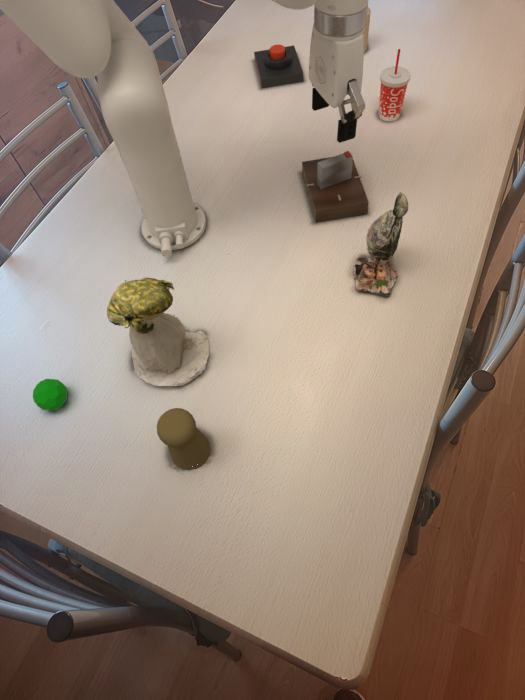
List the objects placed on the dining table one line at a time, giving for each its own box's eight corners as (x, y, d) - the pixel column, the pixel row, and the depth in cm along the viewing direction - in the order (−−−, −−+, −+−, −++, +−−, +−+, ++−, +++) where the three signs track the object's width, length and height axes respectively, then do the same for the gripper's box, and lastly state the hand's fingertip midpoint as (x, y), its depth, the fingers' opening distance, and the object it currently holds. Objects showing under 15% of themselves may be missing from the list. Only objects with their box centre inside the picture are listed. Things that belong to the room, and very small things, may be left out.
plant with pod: (408, 256, 89) (431, 164, 72) (387, 304, 84) (407, 217, 67) (364, 243, 92) (377, 151, 74) (342, 289, 87) (350, 202, 70)
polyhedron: (36, 401, 81) (21, 388, 76) (61, 381, 82) (48, 367, 78) (52, 421, 78) (38, 409, 74) (78, 400, 80) (65, 387, 76)
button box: (303, 82, 118) (303, 65, 115) (261, 88, 118) (260, 72, 114) (294, 54, 124) (294, 37, 121) (254, 60, 124) (253, 44, 121)
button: (286, 59, 117) (286, 51, 116) (271, 61, 117) (270, 54, 115) (283, 50, 119) (283, 43, 117) (269, 53, 119) (268, 45, 117)
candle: (341, 45, 124) (343, 1, 116) (361, 40, 125) (365, -4, 116) (349, 57, 121) (352, 12, 113) (370, 51, 122) (375, 7, 113)
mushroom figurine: (187, 400, 78) (158, 340, 62) (118, 375, 82) (73, 311, 66) (219, 339, 84) (199, 270, 68) (153, 318, 87) (119, 246, 71)
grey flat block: (321, 189, 95) (321, 167, 91) (316, 184, 96) (317, 161, 92) (351, 178, 96) (353, 155, 92) (346, 172, 97) (348, 149, 92)
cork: (211, 429, 76) (197, 399, 66) (210, 469, 73) (195, 443, 63) (171, 432, 76) (152, 402, 66) (169, 471, 73) (148, 446, 63)
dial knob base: (368, 214, 95) (370, 201, 92) (313, 223, 95) (313, 210, 92) (351, 165, 102) (353, 152, 100) (300, 174, 102) (300, 161, 99)
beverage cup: (373, 122, 108) (381, 57, 96) (376, 105, 111) (385, 40, 99) (402, 124, 107) (413, 59, 95) (404, 107, 110) (416, 41, 98)
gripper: (291, -4, 75) (292, 102, 90) (344, 53, 67) (335, 159, 82) (336, -16, 76) (330, 90, 91) (393, 38, 68) (376, 146, 83)
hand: (332, 123), depth 86 cm, fingers open, 9 cm apart
